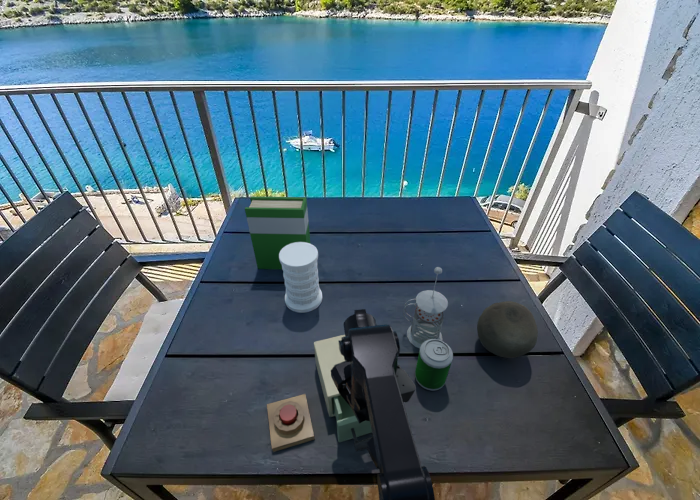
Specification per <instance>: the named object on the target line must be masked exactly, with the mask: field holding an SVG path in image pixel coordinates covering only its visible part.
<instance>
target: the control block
mask: <svg viewBox="0 0 700 500" xmlns="http://www.w3.org/2000/svg"><path fill="white" fill-rule="evenodd" d="M308 404H309V403H308V399H307V395H306V393H303V394H299V395H296V396H292V397H288V398H284V399H281V400H278V401H277V400H276V401H273V402H270V403H267V404H266V410H267V411H266V412H267V418H268V420H267V421H268V428H269V437H270V438H269V439H270V445H271V451H272V453H275V452H278V451H281V450H285V449H288V448H291V447H295V446H298V445H301V444H305V443H307V442H308V443H309V442H310V441H311V442H312V441H314V440H315V439H316V438H315V433H314V428H313V423H312V419H311V414H310V409H309V405H308ZM285 405H293V406H294V407H295V408H296V411H297V419H296V420H295V422H294V423H292V424H289V425H286V424H284V423H283V422H282V421H281V418H280V410H281V409H282V408H283V407H284V406H285Z"/></svg>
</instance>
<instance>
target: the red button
mask: <svg viewBox="0 0 700 500" xmlns="http://www.w3.org/2000/svg"><path fill="white" fill-rule="evenodd" d="M280 418H281V421H282V422H283V423H284V424H286V425H289V424H292V423H294V422H295V420H296V419H297V411H296V408H295V407H294V406H293V405H285V406H284V407H283V408H282V409H281V410H280Z"/></svg>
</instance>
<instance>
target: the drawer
mask: <svg viewBox="0 0 700 500" xmlns="http://www.w3.org/2000/svg"><path fill="white" fill-rule="evenodd" d="M332 405H333V408H334V412H335V416H334V417H335V420H336V433H337V440H338V443H342V442H345V441H348V440H351V439H353V441H354V443H353V446H354V451H355V452H357V453H358V452H359V451H363V450H367V448H366V447H367V442H368V441H369V440H370V439H371V438H372V437H373V436H371V437H368V438H365V439H362V440H358V437H361V436H365V435H369V434H372V429H371V424H370V421H364V422H361V423H359V422H358V420H357V418H356V416H355V414H354V412H353V410H352V408H351V407H350V406H349V405H348V404H347V402H346V401H345V400H344V399H343V397H342V396H341V395H339V396H336V397H332Z"/></svg>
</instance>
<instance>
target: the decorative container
mask: <svg viewBox="0 0 700 500" xmlns="http://www.w3.org/2000/svg"><path fill="white" fill-rule="evenodd" d="M310 243H311V242H310ZM310 243H306V242H295V243H291V244H289V245H286V246H285V247H284V248H282V250H281V251H280V253H279V260H280V263H281V264H282V269H281V270H282V271H283V273H282V276H283V279H284V287H285V295H284V303H285V305H286V307H287V308H288V309H289V310H290V311H292V312H295V313H309V312H313V311H314V310H316V309H317V308H318V307H320V305H321V304H322V302H323V292H322V290H321V288H320V284H319V281H320V279H319V269H318V259H319V249H317V247H316V246H315V245H313V244H312V243H311V244H310Z"/></svg>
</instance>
